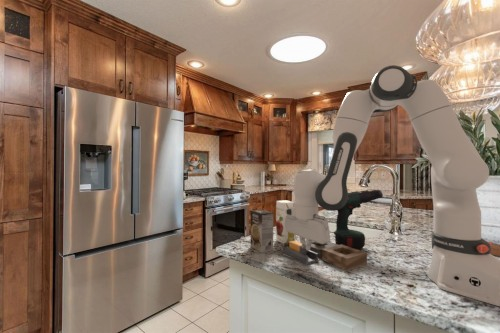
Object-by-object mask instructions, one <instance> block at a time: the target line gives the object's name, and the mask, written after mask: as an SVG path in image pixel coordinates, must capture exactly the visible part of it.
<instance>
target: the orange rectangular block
mask: <svg viewBox="0 0 500 333" xmlns="http://www.w3.org/2000/svg"><path fill="white" fill-rule="evenodd" d="M300 242H301V241H297V240H296V241H290V242H289V248H291V249H293V250H296V251H298V252H300V253H303V254H305V255H306V250H305V249H303V248H302V244H301V243H300Z"/></svg>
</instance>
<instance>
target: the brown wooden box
mask: <svg viewBox="0 0 500 333" xmlns="http://www.w3.org/2000/svg"><path fill="white" fill-rule="evenodd" d="M321 260H322V261H324V262H327V263H329V264H331V265H334V266H335V267H338V268H340V269H342V270H345V271H349V270H352V269H356V268H358V267H361V266H365V265H367V263H368V252H366V251H363V250H361V249H360V250H357V249H354V248H351V247H348V246H345V245H342V244H341V245H337V246H333V247H329V248H325V249H322V257H321Z"/></svg>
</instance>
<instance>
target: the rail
mask: <svg viewBox="0 0 500 333" xmlns="http://www.w3.org/2000/svg"><path fill="white" fill-rule="evenodd" d="M281 248H282V250H281V253H282V254H283V255H284V256H287V257H289V258H291V259H293V260H296V261H297V262H299V263H301V264H303V265H305V266H307V265H311V264H312V265H313V264H314V263H319V257H318V253H315V252H313V251H310V250H308V251H307V250H306V255H305V254H303V253H300V252H298V251H296V250H293V249H291V248H289V242H286V243H284V244H282V246H281Z"/></svg>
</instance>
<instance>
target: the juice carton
mask: <svg viewBox="0 0 500 333" xmlns="http://www.w3.org/2000/svg"><path fill="white" fill-rule="evenodd" d="M294 202H295V201H290V200H288V199H287V200H283V199H282V200H276V204H275V220H276V221H275V222H276V223H275V225H276V228H275V232H276V233H275V236H276V237H275V238H276V241H277V242H279V243H281V244H282V245H284V243H286V242H290V241H297V240H296V236H297V235H295V234H292V233H289V232H287V231H286V228H285V218H286V215H287V214H286V213H285V210H286V209H288V208H292V207H294Z"/></svg>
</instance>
